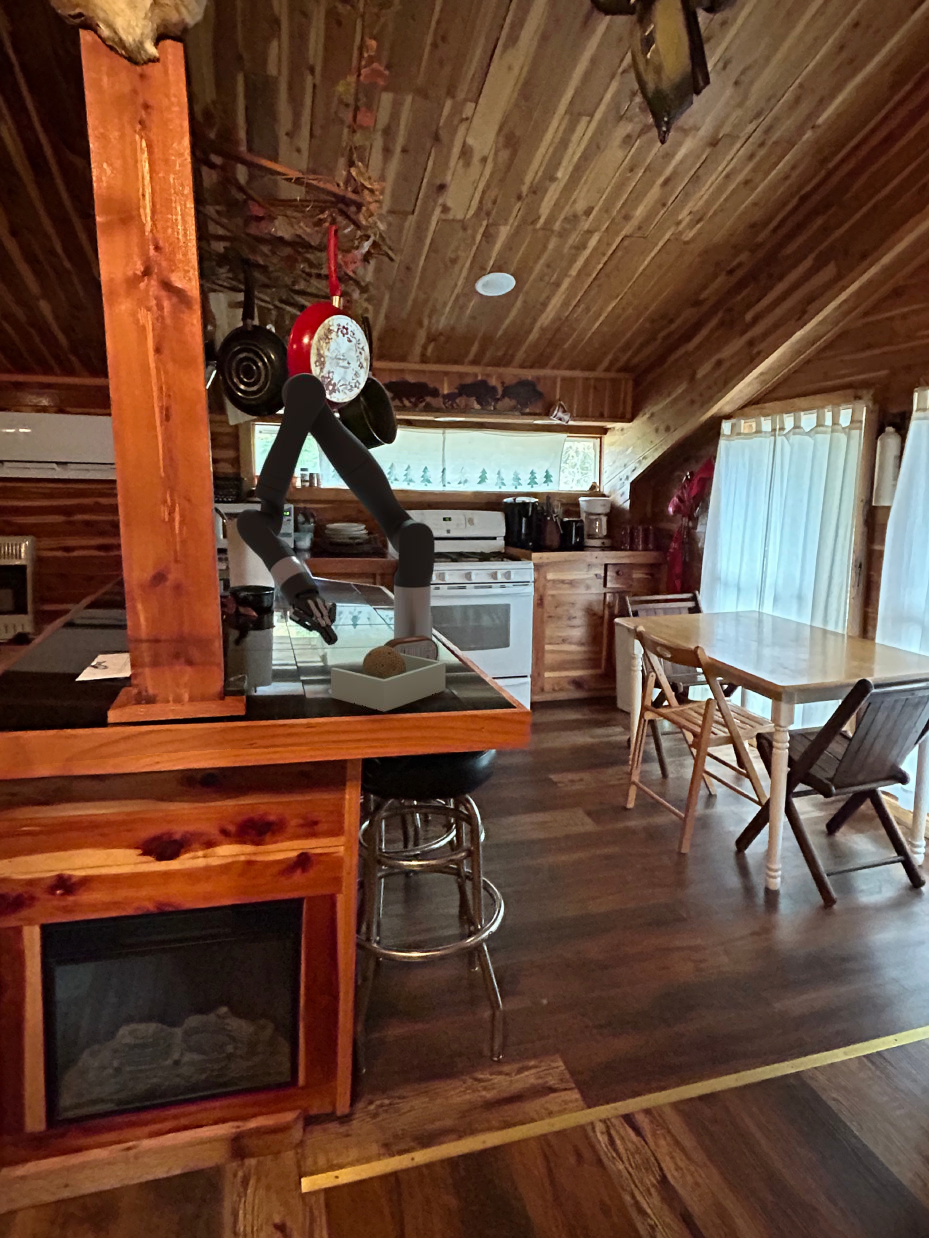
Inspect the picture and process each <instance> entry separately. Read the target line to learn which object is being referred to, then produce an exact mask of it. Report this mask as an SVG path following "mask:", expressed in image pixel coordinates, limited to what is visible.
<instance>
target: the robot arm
mask: <svg viewBox="0 0 929 1238" xmlns="http://www.w3.org/2000/svg"><path fill="white" fill-rule="evenodd" d="M281 398H282V402H283V404H284V409H283V413H282V414H283V415H282V418H281V422H280V425H279V428H278V431H277V433H276V435H275V438H274V441H273V443H272V445H271V447H270V449H269V451H268V453H267V455H266V458H265V459H264V462H263V465H262V467H261V470H260V472H259V476H258V478H257V482H256V484H255V487H254V495H255V497H257V498H258V499H259V500H260V509H254V508H247V509H244V510H242V511H241V512H240V513H239V514H238V515H237V518H236V524H235V526H236V530H237V533H238V536H240V538H241V540H242V541H243V542H244V543H245V544H246V546H248V547H249V548H250V549H251V551H252V552H254V554H255V555H257V556H258V557H259V558H260V559H261V561H262V562H263V565H264V566H265V567H266V569H267V571H268V572H269V574H270V575H271V578H272V579H273V582H274V584H275V586H276V587H277V588H278V590H279V592H280V593H281V595H282V597H283V598H284V599H285V601H286V603H287V604H288V606H290V607H291V608H292V610H293V611H292V612H291V613H290V614H289V616H288V619H289V620H290V621H292V622H294V623H295V624H297V625H299V626H300V627H302V628H303V629H304V630H306V631H308V632H310V633H312V632H316V633H318V634H319V635H320V637H321V638H322V640H323V642H324V643H326V644H327V645H328V646H333V645H335V644H336V643H337V642H338V640H339V638H338V635H337V633H336V631H335V630H334V628H333V627H332V626H333V625H334V624H335V622H336V621H337V609H338V606H337V603H336V602H332V603H329V602H326V599H325V598H324V597H322V596H321V595H320V590H319V586H318V585H317V584H316V582H315V580H314V579H313V577H312V576H311V574H310V572H309V571H308V570H307V568H306V566H305V565H304V563H302V561H301V560H300V559H299V558H298V556H297V554H296V553H295V552H294V550H293V549H292V547H291V545H290V544H289V543H288V542H287V541H286V540H284V539H282V538H281V537H279V536H280V534H281V531H282V528H283V524H284V515H285V513H284V512H285V501H286V498H287V495H288V492H289V489H290V485H291V483H292V481H293V477H294V473H295V471H296V468H297V464H298V462H299V458H300V456H301V453H302V450H303V447H304V444H305V443H306V440H307V437H308V435H309V434H310V435H311V436H312V438H313V439H314V440H315V442H316V443H317V444H318V446H319V448H320V450H321V451H322V452H323V454H324V456H325V458H327V460H328V461H329V463H330V464H331V466H332V467H333V469H334V470H335V471H336V473H337V474H338V476H339V477H340V478H341V480H342V481H343V482H344V484H345V485H346V486H347V488H348V489H349V490H350V491H351V493H352V494H353V495H354V496H355V497H356V499H357V500H358V501H359V502H360V503H361V505H362V506H363V507H364V508H365V509H366V510H367V511H368V512H369V513H370V515H371V516H372V517H373V518H374V519H375V521H376V523H377V524H378V525H379V527H380V528H381V530H382V532H383V533H384V535H385V536H386V539H387V540H388V542H389V544H390V545H391V546H392V548H393V550H394V551H395V552H396V553H398V558H397V559H398V562H397V564H398V565H397V569H396V570H397V571H396V572H395V573H394V575H393V639H394V638H403V637H411V636H419V635H424V636H427V637H429V638H430V639H432V640H433V613H431V604H432V603H431V599H432V598H431V593H432V592H431V591H432V587H431V586H432V585H431V581H432V577H433V575H434V566H435V552H436V551H435V550H436V549H435V548H436V547H435V546H436V545H435V536H434V532H433V530H432V529H431V527H430V526H429V525H428V524H426V523H425V522H421V521H417V520H415V519H414V518H413V517H412V516H410V514H409V513H408V512H407V511H406V509H405V508H404V507H403V506H402V505H401V503H400V502H399V500H398V499H397V497H396V495H395V494H394V491H393V489H392V486H391V484H390V481H389V479H388V477H387V475H386V473H385V471H384V469H383V468H382V466H381V465H380V464H379V461H377V460H376V458H375V457H374V455H373V454H372V453H371V451H370V450H369V449H368V448H367V447H366V446H365V444H364V443H363V442H361V440H360V439H359V438H358V437H356V436H355V434H353V432H351V430H349V429H348V428H347V427H346V426H345V425H344V424H343V422H341V421H340V419H339V418H338V417H337V416H336V414H335V413H334V412H333V410H332V408H331V407H330V405H329V404H328V401H327V390H326V386H325V385H324V383H323V381H322V380H321V379H320V378H319V377H318V376H316V375H315V374H312V373H307V372H306V373H305V372H304V373H303V372H302V373H299V374H295V375H293V376H292V377H291V376H290V378H288V379H287V380H286V381H285V383H283V386H282V389H281Z"/></svg>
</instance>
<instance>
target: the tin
mask: <svg viewBox="0 0 929 1238" xmlns="http://www.w3.org/2000/svg"><path fill="white" fill-rule="evenodd" d="M383 646H389V647H391V648H393V649H395V650H396V651H398V652H399V653H402V654H407V655H411V656H416V657H421V658H426V659H431V660H436V661H438V657H439V646H438V644H437V642H436V641H435V640H433V638H432V639H430V638H429V637H427V636H424V635H419V636H411V637H403V638H394V637H393V638H391V639H389V640H388V641H386V643H384V644H383Z"/></svg>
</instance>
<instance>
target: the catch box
mask: <svg viewBox="0 0 929 1238" xmlns="http://www.w3.org/2000/svg"><path fill="white" fill-rule="evenodd" d="M400 654H401V655H402V657H403V658H404V661H405V663H406V673H403V674H400V675H397V676H393V677H390V678H387V679H380V678H376V677H372V676H368V675H364V673H358V672H353V671H351V670H346V669H342V668H338V667H337V668H336V667H331V668H330V697H331V699H332V698H333V699H336V700H340V701H344V702H348V703H350V704H354V703H355V705H358V706H362V705H363V706H362V707H365V706H366V708H370V709H372V710H373V709H374V710H376V709H377V711H380V712H387V711H390V710H392V709H395V708H399V707H402V706H404V705H406V704H410V703H412V702H415V701H418V700H421V699H423V698H427V697H429V696H432V694H433V695H435V693H436V694H438V693H441V692H444V691H446V670H447V669H446V662H445V661H440V660H437V661H436V660H431V659H426V658H421V657H416V656H411V655H407V654H402V653H400Z"/></svg>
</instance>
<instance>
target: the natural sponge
mask: <svg viewBox="0 0 929 1238" xmlns="http://www.w3.org/2000/svg"><path fill="white" fill-rule="evenodd" d="M362 671H363V675H368V676H372V677H376V678H380V679H387V678H390V677H393V676H397V675H400V674H403V673H406V663H405V661H404V658H403V657H402V655H401V654H400V653H399V652H398V651H396V650H395V649H393V648H391V647H389V646H384V645H379V646H377V647H374V648H372V649H371V650H369V651H368V653H367V654H366V655H365V656H364V658H363V659H362Z"/></svg>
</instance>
